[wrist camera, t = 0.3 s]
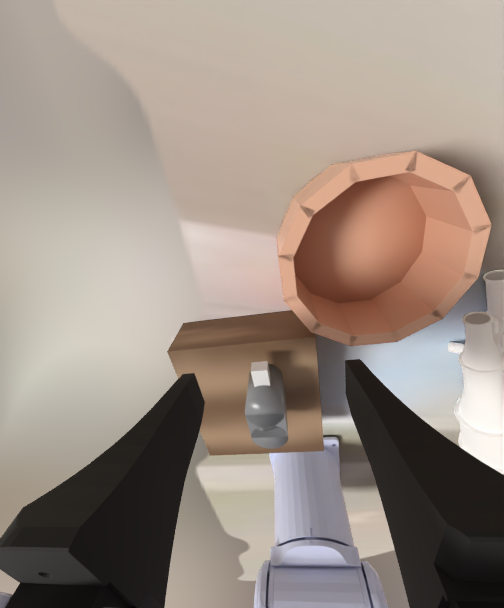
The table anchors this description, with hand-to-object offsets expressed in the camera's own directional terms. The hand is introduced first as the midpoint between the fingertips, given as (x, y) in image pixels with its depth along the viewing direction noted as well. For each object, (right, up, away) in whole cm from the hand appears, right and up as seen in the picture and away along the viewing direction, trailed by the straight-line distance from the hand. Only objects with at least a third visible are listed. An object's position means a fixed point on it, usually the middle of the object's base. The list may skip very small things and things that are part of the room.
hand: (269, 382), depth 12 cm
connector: (0, -3, +8) cm, 9 cm away
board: (0, -3, +13) cm, 13 cm away
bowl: (+6, +8, +6) cm, 12 cm away
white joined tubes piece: (+18, 0, +10) cm, 21 cm away
